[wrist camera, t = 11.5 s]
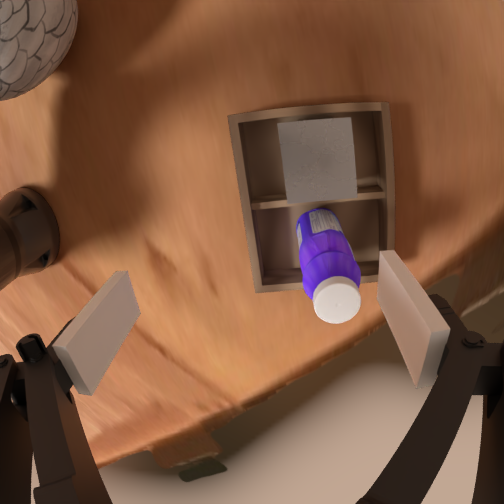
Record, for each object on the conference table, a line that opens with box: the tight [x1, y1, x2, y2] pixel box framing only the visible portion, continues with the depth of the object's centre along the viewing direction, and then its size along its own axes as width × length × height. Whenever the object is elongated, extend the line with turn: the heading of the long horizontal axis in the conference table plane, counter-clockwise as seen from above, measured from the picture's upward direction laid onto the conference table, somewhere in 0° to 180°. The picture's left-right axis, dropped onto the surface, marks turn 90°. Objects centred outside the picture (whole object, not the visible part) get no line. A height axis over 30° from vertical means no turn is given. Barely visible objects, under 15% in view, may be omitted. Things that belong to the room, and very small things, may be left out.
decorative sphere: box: [0, 0, 78, 101], centre depth 25 cm, size 20×20×20 cm
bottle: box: [296, 208, 361, 324], centre depth 34 cm, size 7×6×17 cm
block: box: [277, 117, 358, 204], centre depth 35 cm, size 7×8×7 cm
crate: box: [228, 102, 395, 293], centre depth 38 cm, size 18×22×5 cm
